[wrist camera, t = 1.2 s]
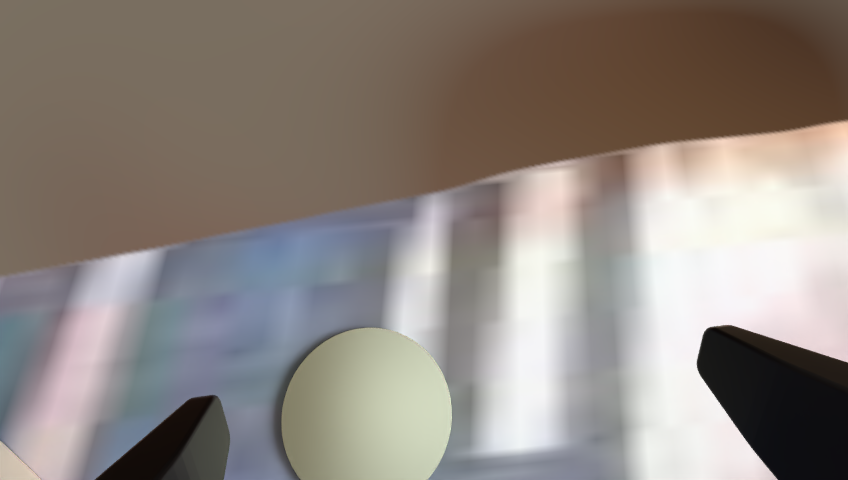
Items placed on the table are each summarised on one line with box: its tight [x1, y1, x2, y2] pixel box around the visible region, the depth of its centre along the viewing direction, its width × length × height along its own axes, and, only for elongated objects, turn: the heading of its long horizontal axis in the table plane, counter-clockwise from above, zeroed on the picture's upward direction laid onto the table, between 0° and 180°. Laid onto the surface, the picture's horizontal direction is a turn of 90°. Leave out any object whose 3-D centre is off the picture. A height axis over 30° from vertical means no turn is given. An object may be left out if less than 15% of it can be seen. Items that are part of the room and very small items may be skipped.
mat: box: [281, 328, 452, 480], centre depth 21 cm, size 8×8×1 cm
